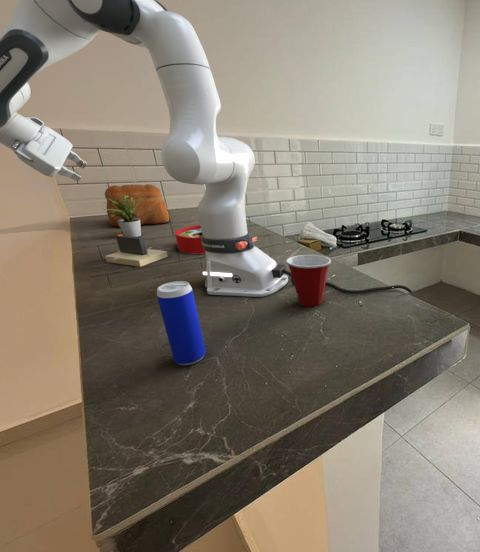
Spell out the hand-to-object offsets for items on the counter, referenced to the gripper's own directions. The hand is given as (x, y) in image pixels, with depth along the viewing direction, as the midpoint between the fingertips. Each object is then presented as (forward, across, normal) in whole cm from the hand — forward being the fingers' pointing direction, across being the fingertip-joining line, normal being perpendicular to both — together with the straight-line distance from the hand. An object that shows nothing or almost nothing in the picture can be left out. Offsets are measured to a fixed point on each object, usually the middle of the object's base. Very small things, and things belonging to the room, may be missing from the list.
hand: (82, 172), depth 96 cm
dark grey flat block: (+22, -11, +10) cm, 26 cm away
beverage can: (+20, -76, -13) cm, 79 cm away
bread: (+32, +41, +25) cm, 58 cm away
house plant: (+27, +20, +22) cm, 40 cm away
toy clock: (+39, -4, -3) cm, 40 cm away
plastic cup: (+41, -63, -31) cm, 81 cm away
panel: (+24, -12, +11) cm, 29 cm away
